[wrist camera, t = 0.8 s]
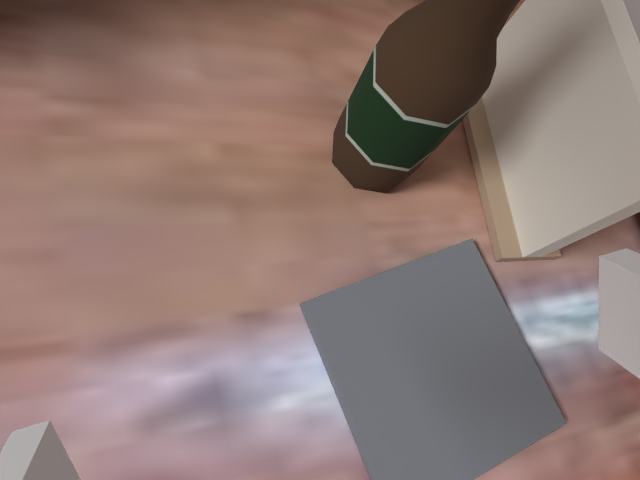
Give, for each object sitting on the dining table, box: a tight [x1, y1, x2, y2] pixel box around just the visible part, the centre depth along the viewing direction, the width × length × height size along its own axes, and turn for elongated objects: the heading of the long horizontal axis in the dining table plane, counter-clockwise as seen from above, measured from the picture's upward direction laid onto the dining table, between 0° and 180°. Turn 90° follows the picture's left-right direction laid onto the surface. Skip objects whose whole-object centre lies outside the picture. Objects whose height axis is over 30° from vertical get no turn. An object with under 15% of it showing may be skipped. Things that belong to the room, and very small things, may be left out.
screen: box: [462, 0, 640, 262], centre depth 39 cm, size 20×6×15 cm, turn 7°
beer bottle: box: [332, 0, 520, 193], centre depth 31 cm, size 8×8×24 cm
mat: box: [300, 239, 567, 480], centre depth 37 cm, size 16×16×1 cm
